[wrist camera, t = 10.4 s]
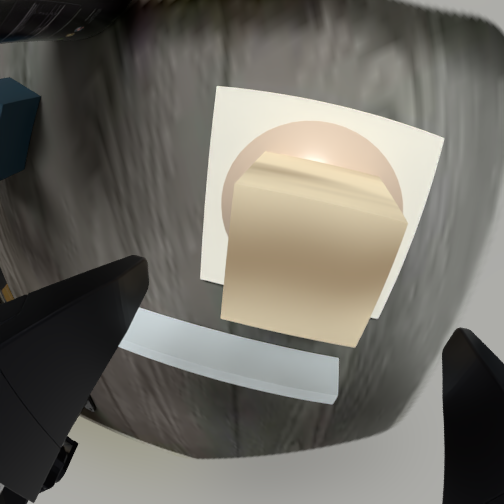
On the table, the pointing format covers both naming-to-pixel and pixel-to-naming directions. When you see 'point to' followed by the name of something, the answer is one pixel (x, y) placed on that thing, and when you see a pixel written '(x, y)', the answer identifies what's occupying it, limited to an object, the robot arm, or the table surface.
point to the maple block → (309, 248)
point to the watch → (15, 125)
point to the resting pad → (311, 148)
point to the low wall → (233, 358)
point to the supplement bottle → (56, 19)
